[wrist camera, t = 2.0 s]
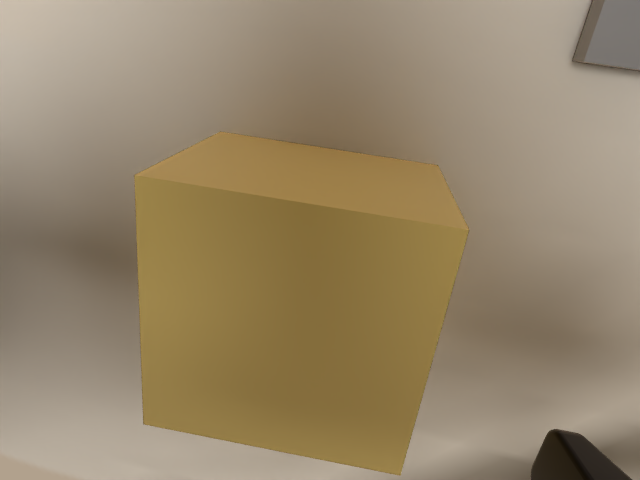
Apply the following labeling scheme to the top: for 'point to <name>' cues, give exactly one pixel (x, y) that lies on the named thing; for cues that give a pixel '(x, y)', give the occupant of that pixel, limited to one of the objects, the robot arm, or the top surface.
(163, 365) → the mustard brick
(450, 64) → the top surface
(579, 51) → the baseplate
